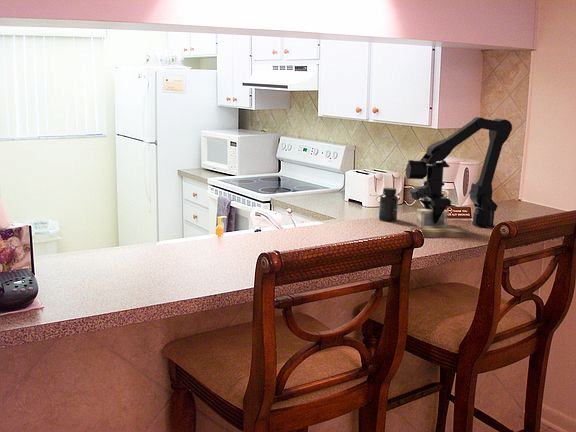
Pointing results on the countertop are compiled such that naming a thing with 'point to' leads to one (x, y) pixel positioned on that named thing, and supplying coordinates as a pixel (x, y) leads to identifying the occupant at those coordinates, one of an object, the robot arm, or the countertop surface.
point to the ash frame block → (430, 218)
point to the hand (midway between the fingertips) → (431, 221)
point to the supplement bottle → (388, 205)
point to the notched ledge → (443, 231)
